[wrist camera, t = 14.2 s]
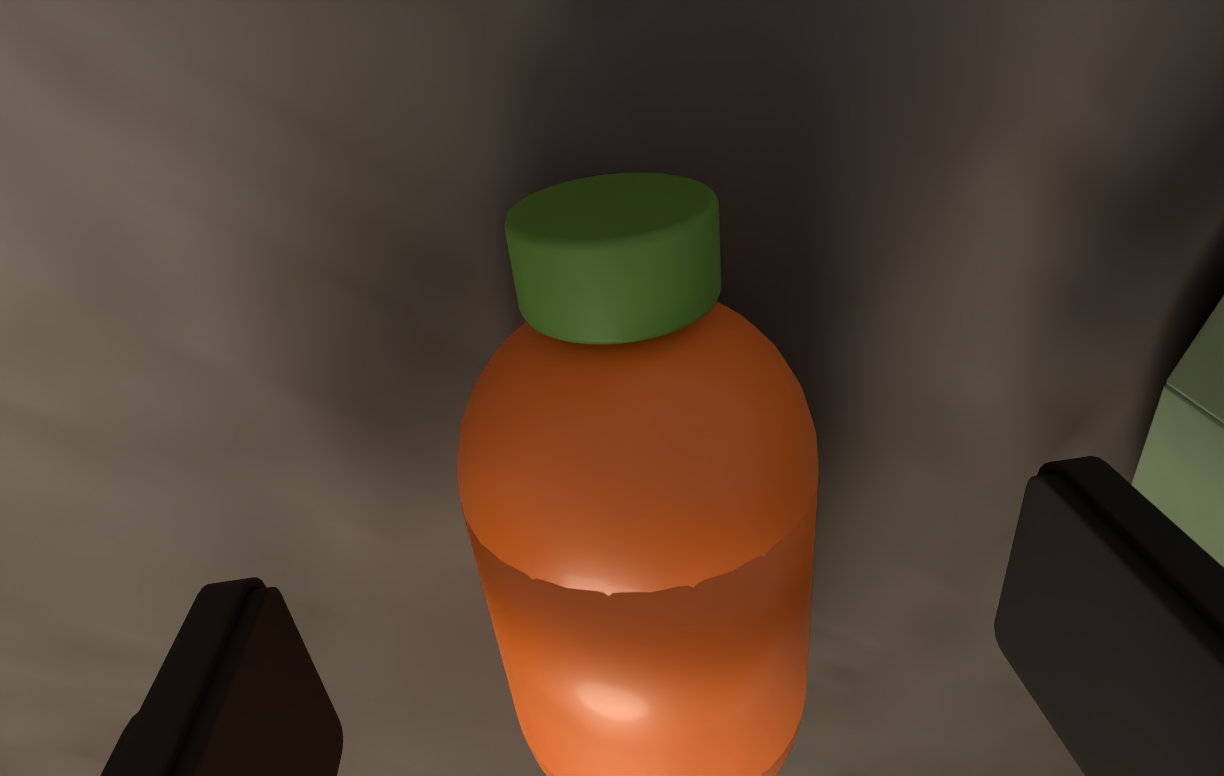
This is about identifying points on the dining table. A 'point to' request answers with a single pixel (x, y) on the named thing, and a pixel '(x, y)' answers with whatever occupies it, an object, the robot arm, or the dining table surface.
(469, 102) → the dining table surface
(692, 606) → the carrot
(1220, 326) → the bowl
